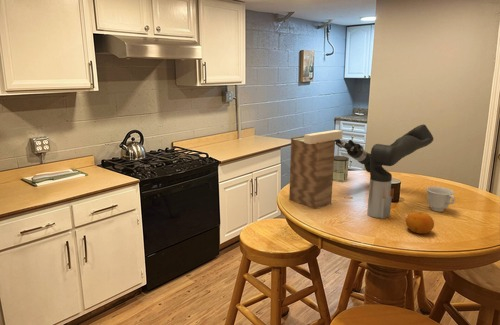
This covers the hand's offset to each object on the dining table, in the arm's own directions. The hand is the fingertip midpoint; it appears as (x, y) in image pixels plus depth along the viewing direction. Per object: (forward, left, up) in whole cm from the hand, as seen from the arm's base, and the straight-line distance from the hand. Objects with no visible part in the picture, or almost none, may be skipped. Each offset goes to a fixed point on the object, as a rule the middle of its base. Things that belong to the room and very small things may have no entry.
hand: (342, 140), depth 187 cm
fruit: (-49, +11, -31) cm, 59 cm away
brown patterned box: (+4, +19, -31) cm, 36 cm away
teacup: (-44, -20, -31) cm, 57 cm away
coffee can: (+20, -26, -31) cm, 45 cm away
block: (-1, +16, +2) cm, 16 cm away
